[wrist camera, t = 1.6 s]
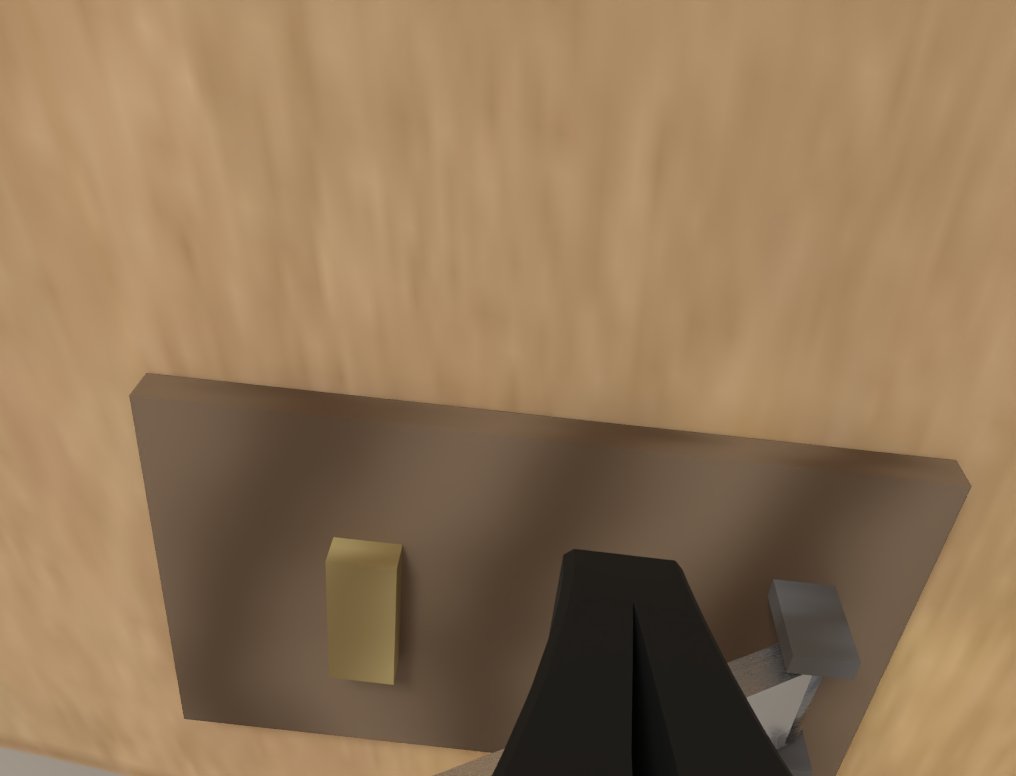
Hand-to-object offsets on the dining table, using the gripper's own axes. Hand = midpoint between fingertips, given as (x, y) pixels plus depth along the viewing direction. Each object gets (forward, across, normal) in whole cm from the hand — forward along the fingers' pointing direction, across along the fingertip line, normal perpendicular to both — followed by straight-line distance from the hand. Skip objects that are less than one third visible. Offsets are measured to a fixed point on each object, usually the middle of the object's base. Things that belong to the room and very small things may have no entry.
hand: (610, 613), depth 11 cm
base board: (+10, 0, +10) cm, 15 cm away
